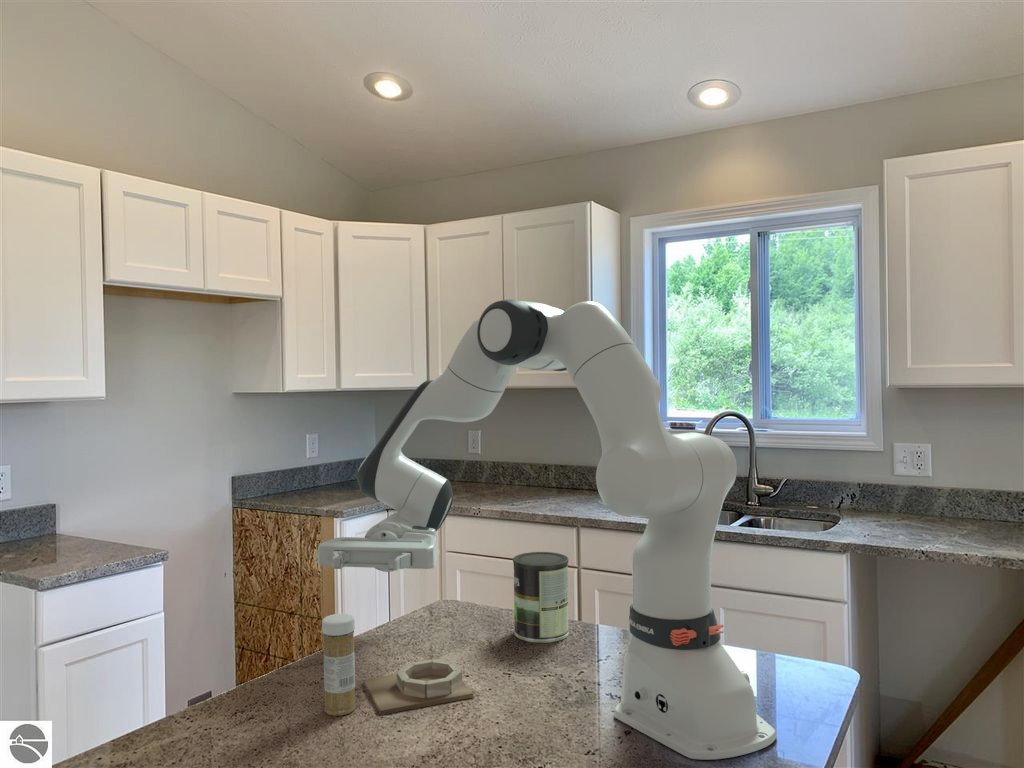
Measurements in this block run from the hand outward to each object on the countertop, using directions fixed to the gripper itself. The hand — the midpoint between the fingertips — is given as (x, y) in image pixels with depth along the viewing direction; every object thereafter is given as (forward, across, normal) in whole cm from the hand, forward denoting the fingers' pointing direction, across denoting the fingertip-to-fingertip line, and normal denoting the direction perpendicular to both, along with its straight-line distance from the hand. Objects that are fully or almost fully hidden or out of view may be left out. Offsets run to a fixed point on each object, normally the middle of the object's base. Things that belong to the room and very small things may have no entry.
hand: (364, 564), depth 120 cm
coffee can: (-22, +26, +18) cm, 39 cm away
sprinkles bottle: (+12, 0, +18) cm, 22 cm away
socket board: (+5, +10, +18) cm, 21 cm away
